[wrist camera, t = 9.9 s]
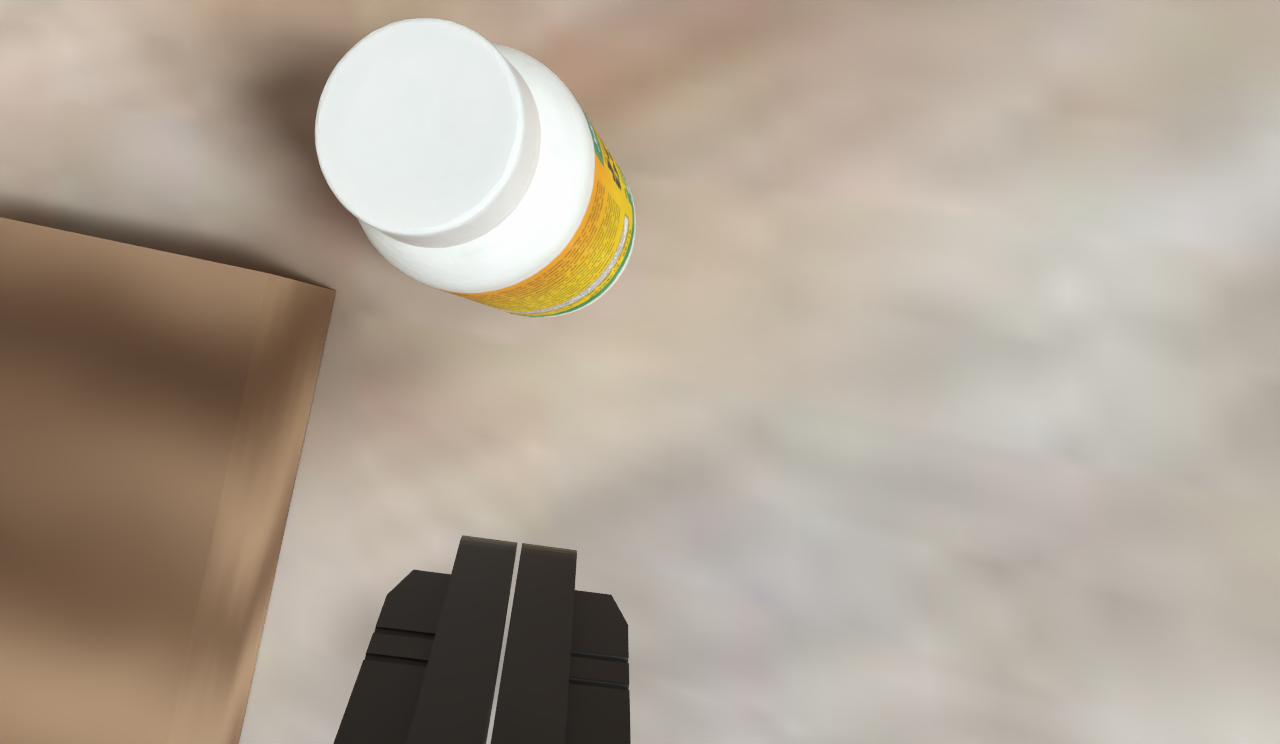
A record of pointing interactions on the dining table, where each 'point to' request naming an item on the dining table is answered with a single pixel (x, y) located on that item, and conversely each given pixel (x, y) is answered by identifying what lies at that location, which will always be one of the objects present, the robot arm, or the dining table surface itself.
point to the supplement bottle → (474, 169)
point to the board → (142, 483)
